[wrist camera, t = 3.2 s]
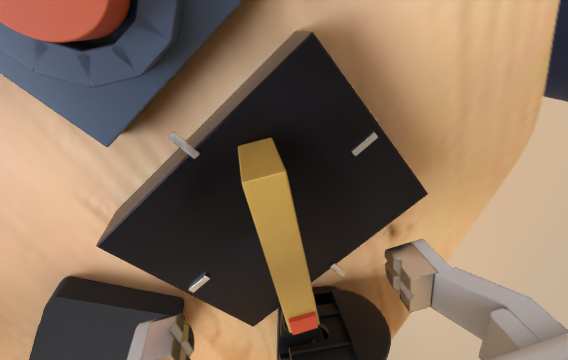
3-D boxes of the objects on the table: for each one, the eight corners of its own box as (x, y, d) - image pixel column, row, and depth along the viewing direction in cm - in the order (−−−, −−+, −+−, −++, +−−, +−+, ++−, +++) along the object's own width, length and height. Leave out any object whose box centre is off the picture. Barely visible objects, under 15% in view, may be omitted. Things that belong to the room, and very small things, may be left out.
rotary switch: (280, 10, 13) (296, 6, 10) (407, 180, 19) (438, 206, 17) (97, 200, 16) (70, 237, 13) (259, 296, 22) (264, 335, 19)
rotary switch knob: (237, 145, 13) (241, 186, 9) (271, 136, 13) (288, 174, 9) (278, 279, 17) (290, 338, 14) (303, 272, 17) (321, 329, 14)
